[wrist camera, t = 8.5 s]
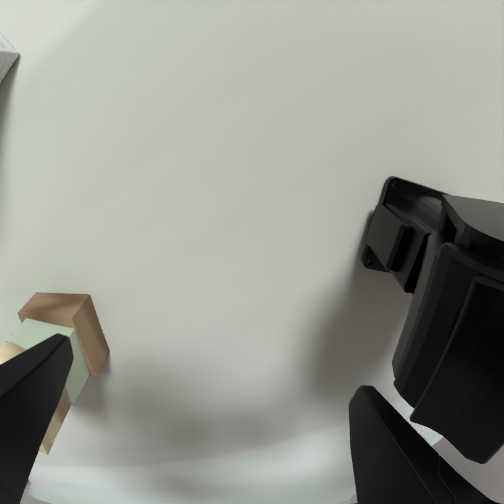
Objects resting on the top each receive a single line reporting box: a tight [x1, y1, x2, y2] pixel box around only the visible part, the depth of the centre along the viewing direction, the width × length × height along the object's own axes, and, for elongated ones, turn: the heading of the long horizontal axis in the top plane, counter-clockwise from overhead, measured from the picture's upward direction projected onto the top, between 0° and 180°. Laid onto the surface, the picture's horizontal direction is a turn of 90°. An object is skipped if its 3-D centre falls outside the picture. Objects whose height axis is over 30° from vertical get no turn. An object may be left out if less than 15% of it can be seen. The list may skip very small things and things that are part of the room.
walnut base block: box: [18, 292, 110, 376], centre depth 23 cm, size 6×6×4 cm
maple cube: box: [0, 340, 71, 455], centre depth 16 cm, size 5×5×5 cm
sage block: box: [8, 318, 90, 405], centre depth 20 cm, size 5×5×4 cm
